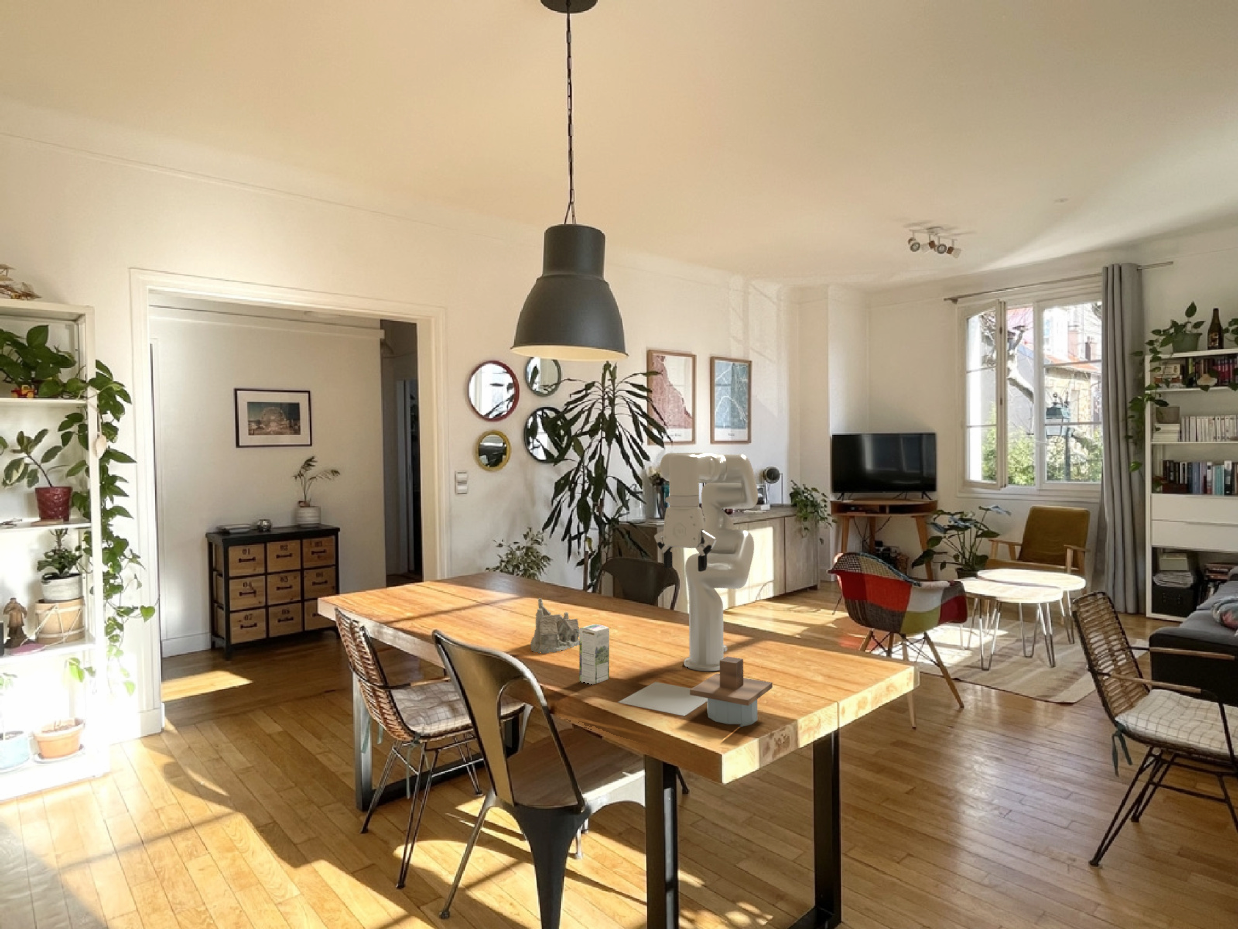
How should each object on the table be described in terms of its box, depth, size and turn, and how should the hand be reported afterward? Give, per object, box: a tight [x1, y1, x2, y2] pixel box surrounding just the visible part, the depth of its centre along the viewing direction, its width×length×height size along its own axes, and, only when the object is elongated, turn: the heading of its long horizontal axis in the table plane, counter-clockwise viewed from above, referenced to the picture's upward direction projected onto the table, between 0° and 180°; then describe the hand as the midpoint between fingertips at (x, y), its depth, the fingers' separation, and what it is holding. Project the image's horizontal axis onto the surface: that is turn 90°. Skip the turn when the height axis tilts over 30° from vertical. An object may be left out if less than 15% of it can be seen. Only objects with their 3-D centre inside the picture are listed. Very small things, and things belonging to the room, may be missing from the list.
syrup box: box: [578, 623, 610, 685], centre depth 198 cm, size 6×6×14 cm
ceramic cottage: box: [530, 597, 580, 654], centre depth 235 cm, size 16×16×15 cm
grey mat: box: [617, 681, 707, 717], centre depth 183 cm, size 18×18×1 cm
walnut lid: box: [690, 656, 773, 706], centre depth 170 cm, size 14×14×7 cm
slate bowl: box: [706, 698, 758, 728], centre depth 171 cm, size 11×11×6 cm
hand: (685, 569), depth 192 cm, fingers open, 9 cm apart
